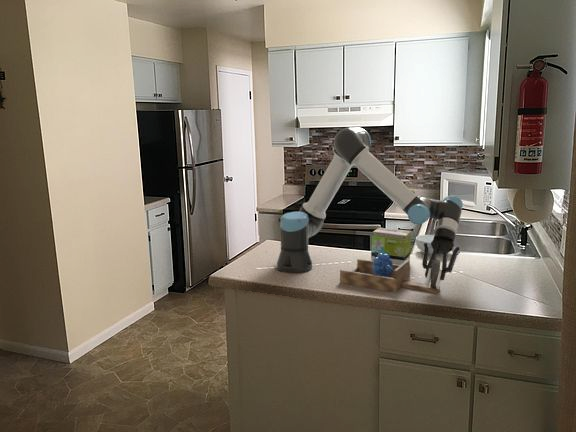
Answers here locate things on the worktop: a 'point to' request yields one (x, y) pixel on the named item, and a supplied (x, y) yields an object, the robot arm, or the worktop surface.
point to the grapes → (382, 265)
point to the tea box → (391, 244)
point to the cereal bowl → (424, 239)
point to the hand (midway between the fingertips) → (432, 286)
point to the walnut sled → (386, 283)
